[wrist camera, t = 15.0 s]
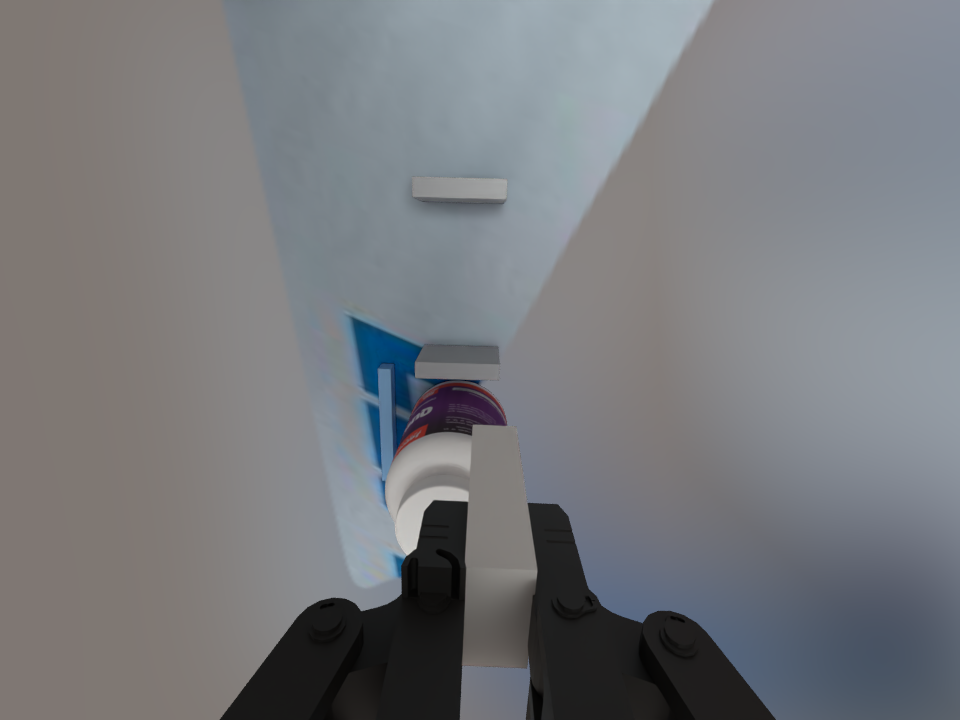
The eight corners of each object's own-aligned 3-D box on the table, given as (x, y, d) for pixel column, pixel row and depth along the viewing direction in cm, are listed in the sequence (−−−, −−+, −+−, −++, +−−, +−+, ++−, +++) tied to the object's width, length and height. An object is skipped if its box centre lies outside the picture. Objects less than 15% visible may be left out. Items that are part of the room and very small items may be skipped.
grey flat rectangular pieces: (386, 488, 40) (373, 523, 35) (375, 183, 33) (356, 175, 28) (492, 491, 40) (493, 527, 35) (504, 186, 33) (507, 179, 28)
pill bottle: (427, 363, 37) (392, 444, 23) (519, 393, 38) (538, 488, 24) (401, 447, 39) (354, 567, 25) (488, 474, 40) (489, 605, 26)
